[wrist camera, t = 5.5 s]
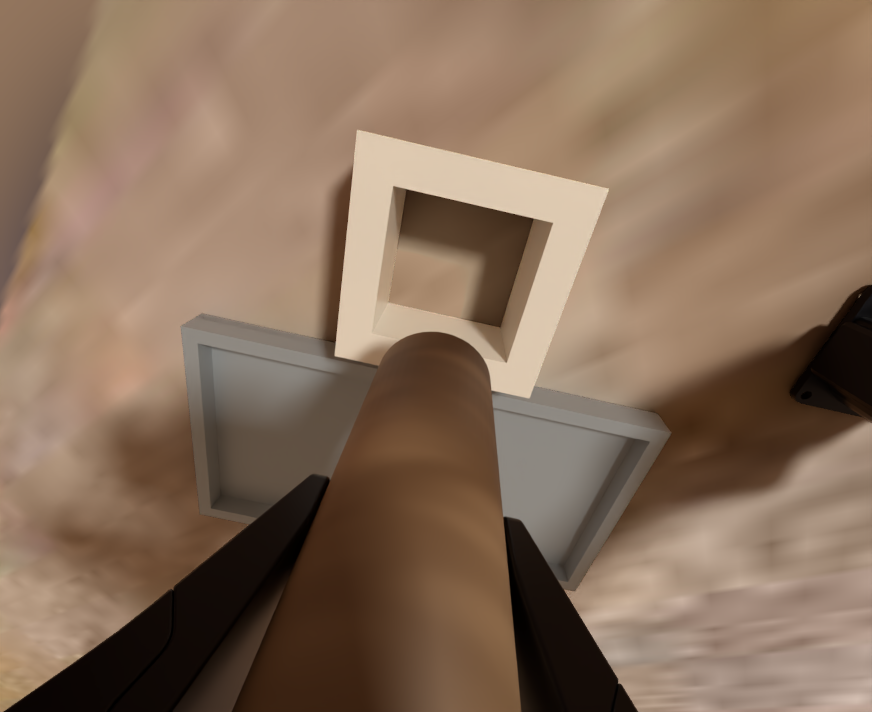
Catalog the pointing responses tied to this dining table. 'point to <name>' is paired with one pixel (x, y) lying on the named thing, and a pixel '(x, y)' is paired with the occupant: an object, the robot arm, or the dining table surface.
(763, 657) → the dining table surface
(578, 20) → the dining table surface
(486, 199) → the square frame
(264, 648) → the pin
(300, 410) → the tray
